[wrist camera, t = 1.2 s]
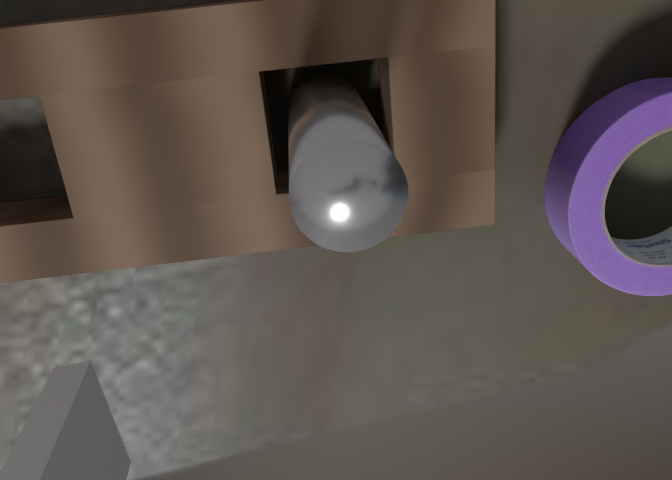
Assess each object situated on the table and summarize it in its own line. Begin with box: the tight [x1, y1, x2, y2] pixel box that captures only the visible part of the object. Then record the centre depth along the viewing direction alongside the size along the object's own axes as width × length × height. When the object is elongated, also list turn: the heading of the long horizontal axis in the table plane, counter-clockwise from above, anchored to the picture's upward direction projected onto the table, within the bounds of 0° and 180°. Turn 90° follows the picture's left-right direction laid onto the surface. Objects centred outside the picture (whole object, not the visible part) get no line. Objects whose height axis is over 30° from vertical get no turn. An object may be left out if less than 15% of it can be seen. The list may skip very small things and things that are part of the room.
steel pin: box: [288, 73, 409, 252], centre depth 28 cm, size 4×4×14 cm
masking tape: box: [545, 77, 672, 296], centre depth 35 cm, size 12×12×4 cm
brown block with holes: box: [0, 0, 495, 283], centre depth 32 cm, size 32×12×4 cm, turn 95°
